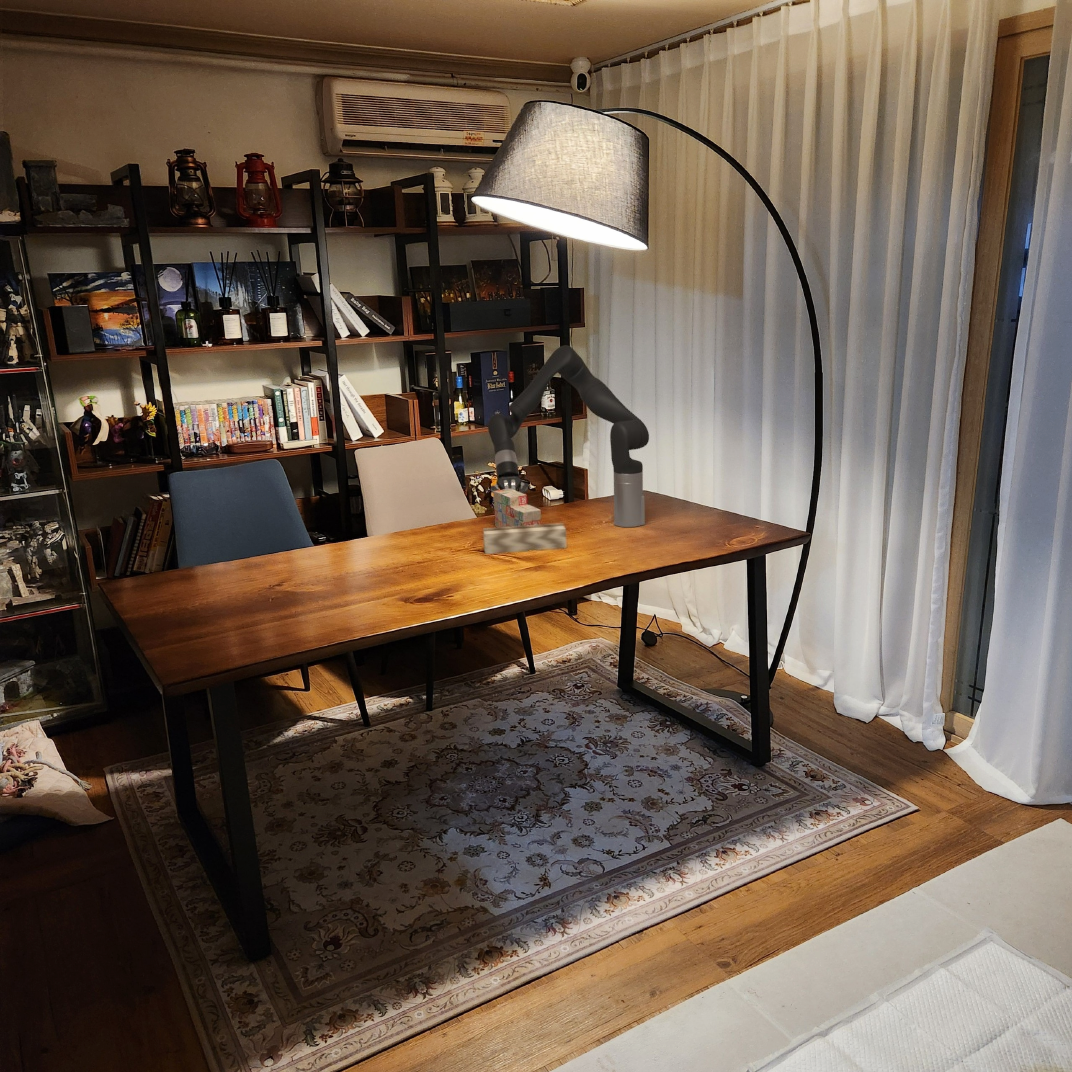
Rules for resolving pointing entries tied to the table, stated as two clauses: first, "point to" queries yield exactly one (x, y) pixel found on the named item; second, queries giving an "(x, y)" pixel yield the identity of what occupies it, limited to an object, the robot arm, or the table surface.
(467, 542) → the table surface
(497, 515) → the stack of blocks
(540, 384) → the robot arm
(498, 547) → the grey zigzag-patterned beam
